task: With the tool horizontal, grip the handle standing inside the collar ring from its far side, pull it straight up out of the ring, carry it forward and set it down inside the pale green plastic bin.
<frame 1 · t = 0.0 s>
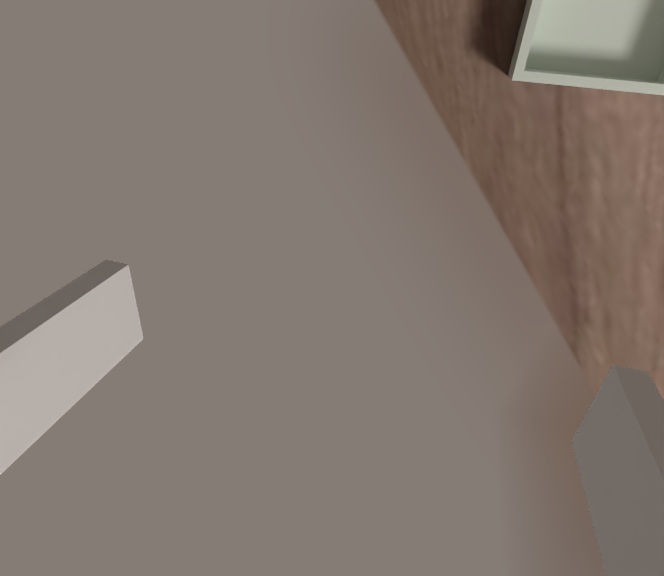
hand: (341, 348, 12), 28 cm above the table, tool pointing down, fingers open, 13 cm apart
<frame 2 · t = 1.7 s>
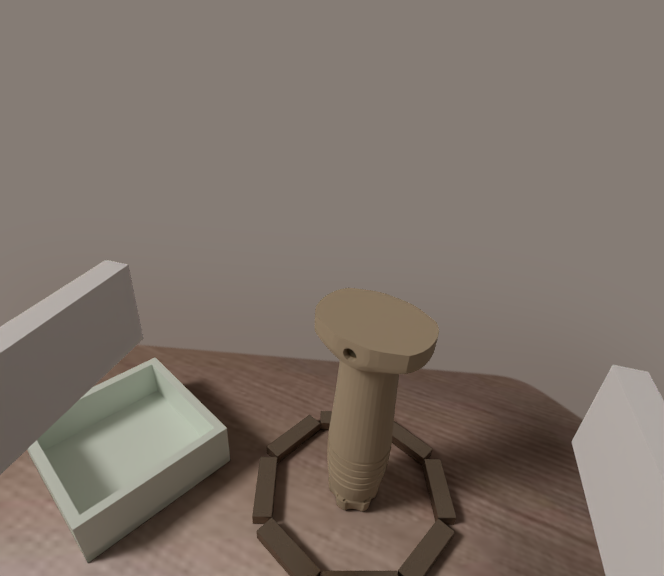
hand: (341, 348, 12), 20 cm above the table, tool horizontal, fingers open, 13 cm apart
bin: (131, 459, 32), on the table
handle: (352, 494, 30), resting in collar ring
collar ring: (352, 492, 30), on the table
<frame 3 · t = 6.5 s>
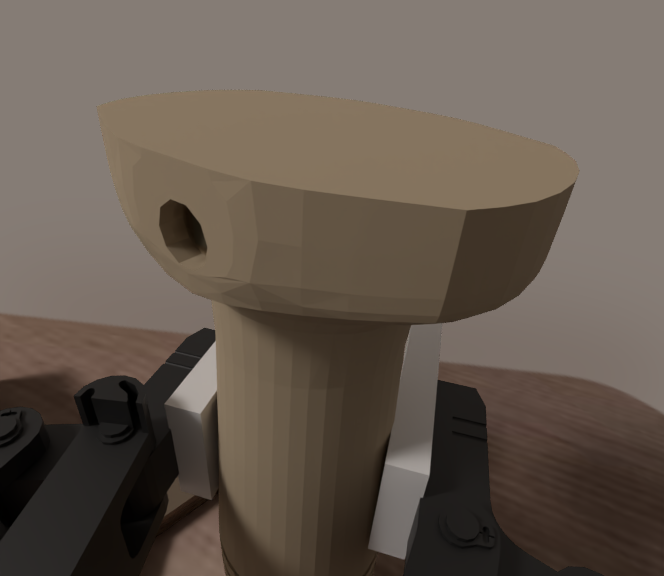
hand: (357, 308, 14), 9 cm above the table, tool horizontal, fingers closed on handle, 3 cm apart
when the fingers open (11 cm above the table, at t = 10.0 s): handle drops 2 cm, resting on bin.
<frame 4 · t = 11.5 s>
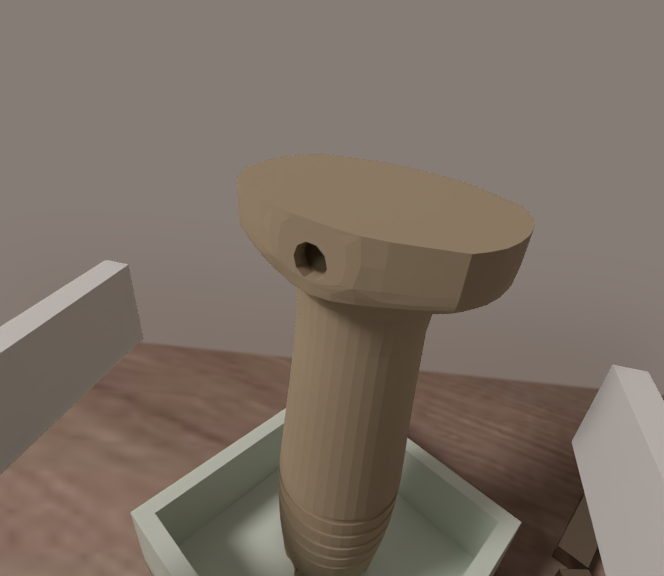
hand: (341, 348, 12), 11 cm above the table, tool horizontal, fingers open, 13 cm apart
bin: (324, 567, 18), on the table
handle: (325, 563, 17), resting on bin
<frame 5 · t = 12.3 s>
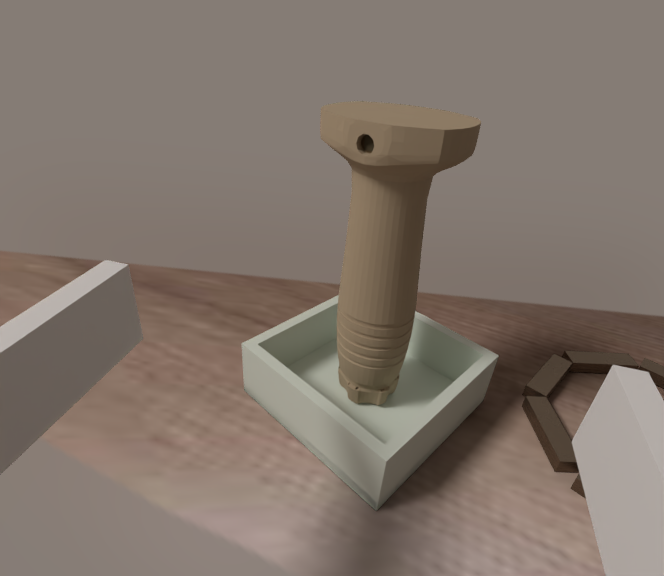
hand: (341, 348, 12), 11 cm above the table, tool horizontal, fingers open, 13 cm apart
bin: (365, 395, 26), on the table
handle: (366, 391, 25), resting on bin
collar ring: (653, 440, 24), on the table
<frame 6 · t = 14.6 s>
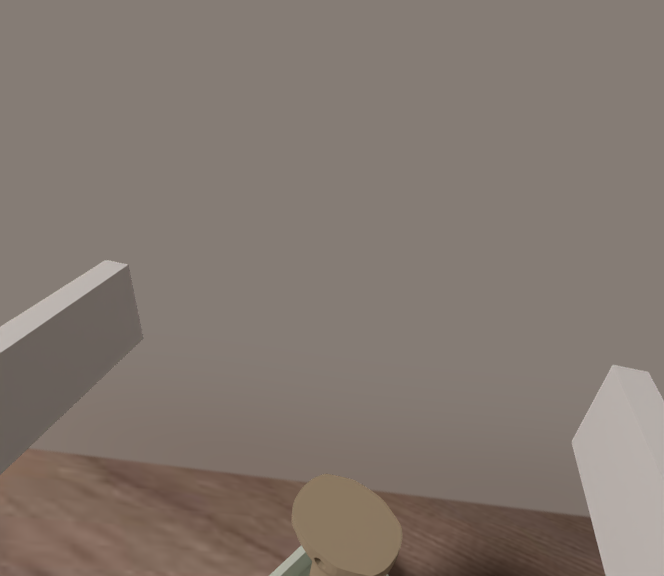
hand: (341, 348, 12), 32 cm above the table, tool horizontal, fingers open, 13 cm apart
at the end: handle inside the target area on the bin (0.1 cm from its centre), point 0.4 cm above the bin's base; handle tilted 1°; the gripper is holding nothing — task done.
